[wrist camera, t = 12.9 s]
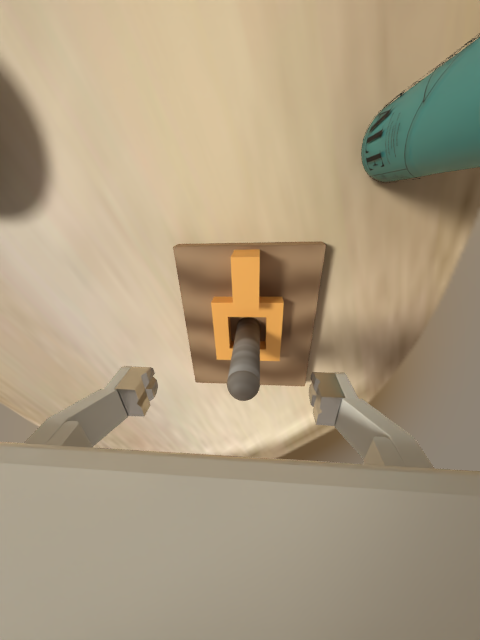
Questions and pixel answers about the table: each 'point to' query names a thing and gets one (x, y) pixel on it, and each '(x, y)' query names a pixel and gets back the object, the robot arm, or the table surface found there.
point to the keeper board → (274, 281)
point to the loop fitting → (247, 307)
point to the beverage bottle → (429, 124)
